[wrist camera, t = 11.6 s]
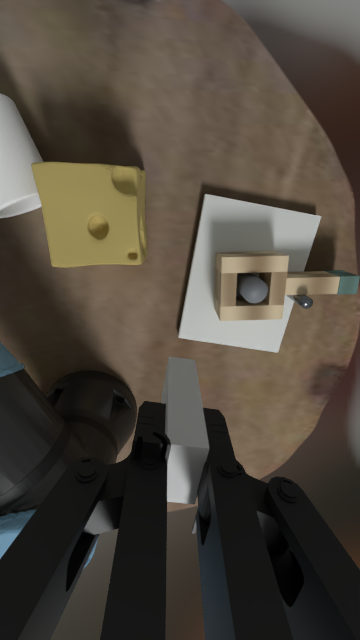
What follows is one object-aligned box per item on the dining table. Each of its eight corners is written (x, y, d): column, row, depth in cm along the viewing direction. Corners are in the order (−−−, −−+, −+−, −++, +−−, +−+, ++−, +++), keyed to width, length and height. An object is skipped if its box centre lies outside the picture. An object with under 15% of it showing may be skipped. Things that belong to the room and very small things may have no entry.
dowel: (293, 297, 41) (310, 309, 36) (283, 296, 41) (300, 307, 36) (296, 288, 40) (314, 298, 35) (286, 286, 40) (303, 296, 35)
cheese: (146, 172, 36) (137, 157, 27) (150, 258, 40) (144, 271, 31) (64, 173, 36) (26, 158, 27) (75, 259, 40) (46, 272, 30)
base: (274, 348, 45) (293, 372, 38) (178, 333, 44) (179, 356, 37) (315, 216, 39) (348, 216, 32) (204, 194, 37) (211, 189, 30)
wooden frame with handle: (214, 309, 41) (220, 321, 36) (215, 252, 38) (221, 257, 34) (335, 305, 41) (356, 317, 37) (345, 249, 39) (369, 253, 34)
